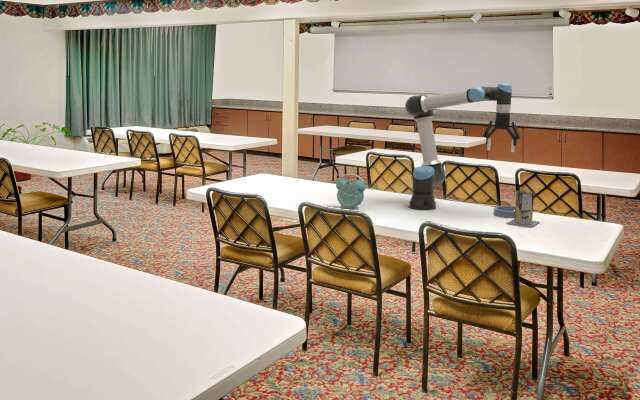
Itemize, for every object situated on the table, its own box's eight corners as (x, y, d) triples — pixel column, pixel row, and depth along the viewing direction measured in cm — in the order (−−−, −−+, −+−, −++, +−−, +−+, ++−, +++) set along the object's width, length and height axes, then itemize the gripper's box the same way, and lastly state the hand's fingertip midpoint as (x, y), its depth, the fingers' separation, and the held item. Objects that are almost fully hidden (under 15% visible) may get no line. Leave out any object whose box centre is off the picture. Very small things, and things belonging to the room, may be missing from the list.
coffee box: (532, 224, 316) (534, 193, 312) (520, 224, 315) (522, 193, 312) (525, 220, 325) (527, 190, 321) (513, 220, 324) (515, 190, 321)
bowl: (489, 215, 337) (490, 209, 337) (500, 210, 350) (500, 204, 349) (518, 219, 328) (518, 213, 328) (527, 214, 341) (527, 208, 340)
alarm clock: (333, 208, 355) (333, 173, 351) (339, 205, 364) (339, 171, 360) (361, 210, 349) (362, 175, 345) (367, 207, 357) (367, 173, 353)
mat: (506, 224, 318) (506, 222, 318) (515, 219, 329) (515, 218, 329) (531, 227, 311) (531, 226, 311) (539, 222, 321) (539, 221, 321)
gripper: (478, 111, 340) (476, 149, 345) (523, 113, 326) (520, 153, 330) (484, 110, 346) (481, 148, 351) (528, 113, 332) (525, 152, 336)
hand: (500, 151), depth 340 cm, fingers open, 13 cm apart
